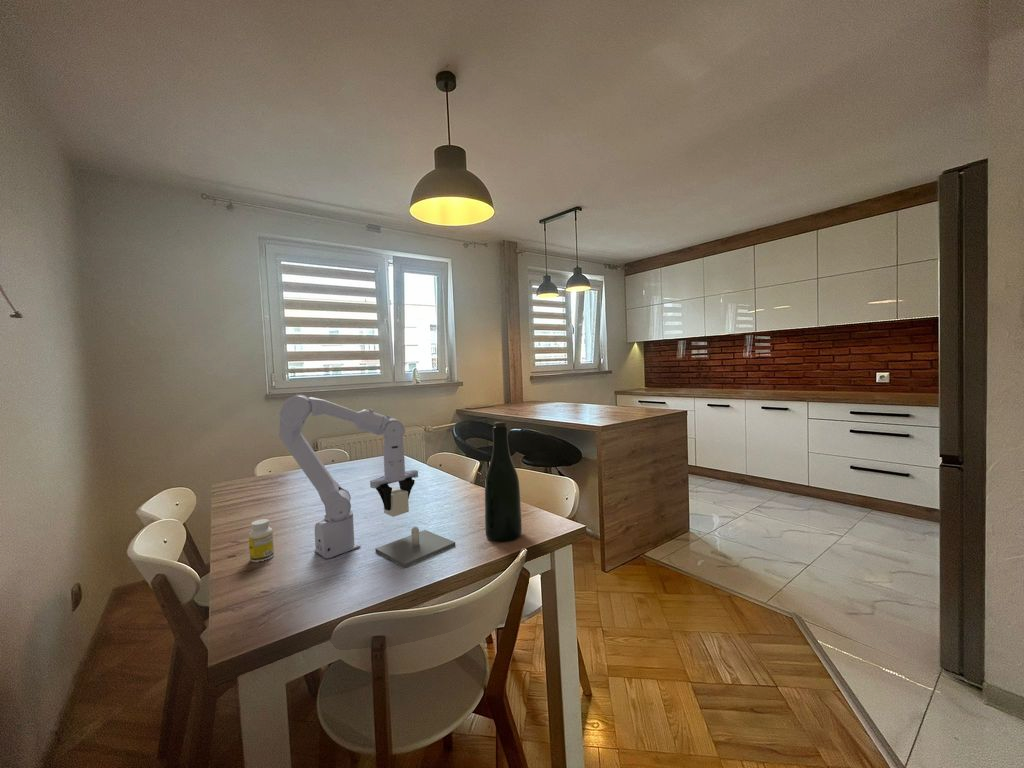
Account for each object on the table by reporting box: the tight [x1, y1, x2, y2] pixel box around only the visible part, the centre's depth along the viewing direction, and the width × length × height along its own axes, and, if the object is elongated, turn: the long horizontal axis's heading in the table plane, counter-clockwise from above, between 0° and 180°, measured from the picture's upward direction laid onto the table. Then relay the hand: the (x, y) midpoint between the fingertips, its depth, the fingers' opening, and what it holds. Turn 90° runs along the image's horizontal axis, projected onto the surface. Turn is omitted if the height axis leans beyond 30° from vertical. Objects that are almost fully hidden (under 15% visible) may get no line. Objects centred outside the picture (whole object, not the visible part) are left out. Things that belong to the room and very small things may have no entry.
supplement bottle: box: [248, 518, 275, 563], centre depth 106 cm, size 5×5×10 cm
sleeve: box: [383, 487, 410, 518], centre depth 116 cm, size 5×5×6 cm
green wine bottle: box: [484, 421, 523, 543], centre depth 115 cm, size 10×10×33 cm
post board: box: [374, 526, 456, 569], centre depth 109 cm, size 16×14×6 cm
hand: (396, 506), depth 116 cm, fingers closed on sleeve, 5 cm apart
